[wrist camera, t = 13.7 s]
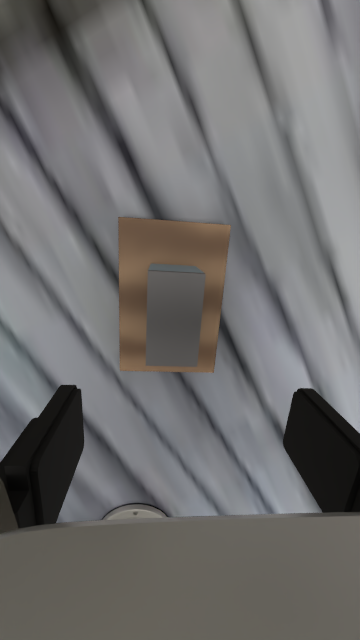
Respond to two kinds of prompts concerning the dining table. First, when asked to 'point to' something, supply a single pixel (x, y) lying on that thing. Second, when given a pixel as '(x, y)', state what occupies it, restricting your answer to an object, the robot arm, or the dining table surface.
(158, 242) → the stand
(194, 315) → the block
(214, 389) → the dining table surface
